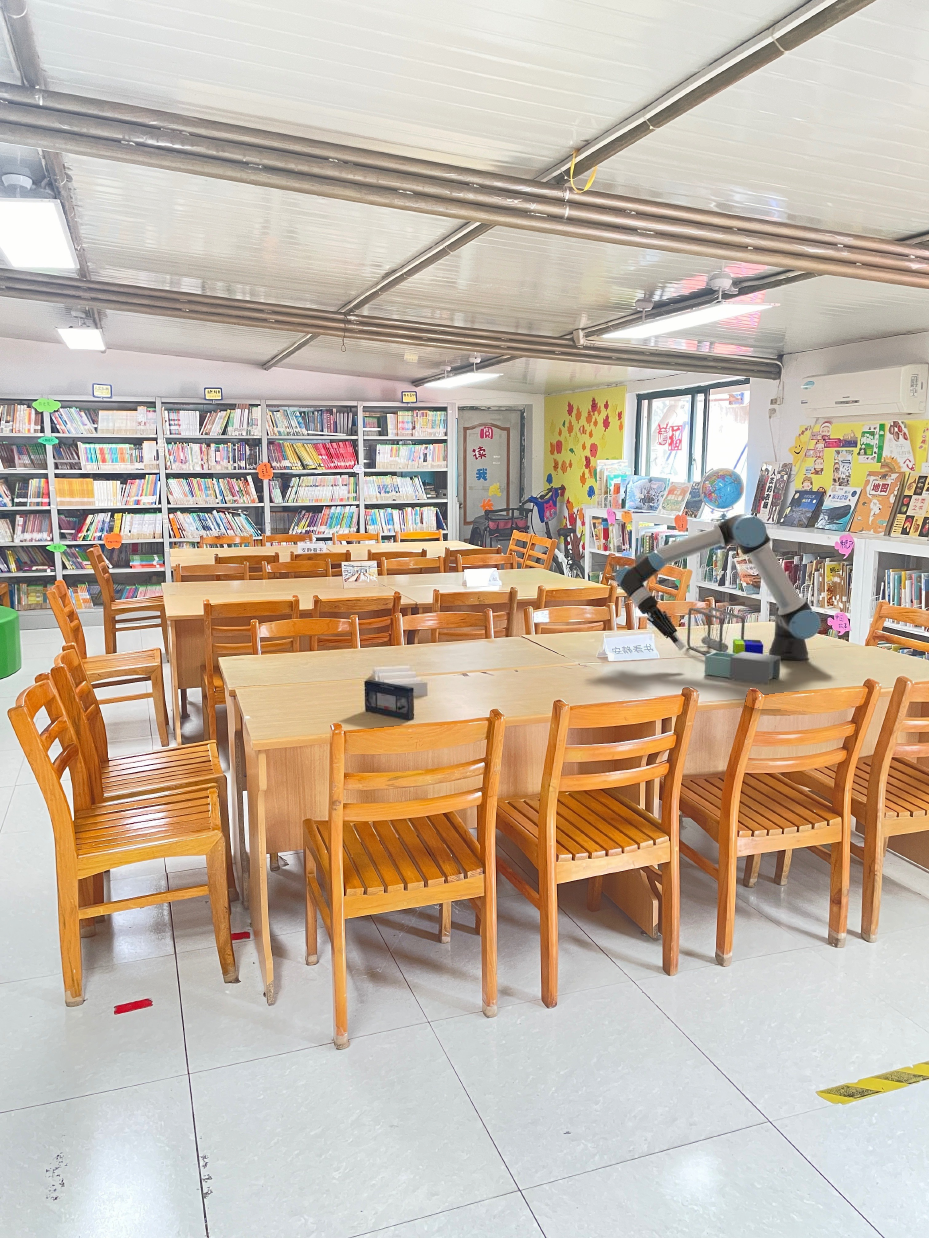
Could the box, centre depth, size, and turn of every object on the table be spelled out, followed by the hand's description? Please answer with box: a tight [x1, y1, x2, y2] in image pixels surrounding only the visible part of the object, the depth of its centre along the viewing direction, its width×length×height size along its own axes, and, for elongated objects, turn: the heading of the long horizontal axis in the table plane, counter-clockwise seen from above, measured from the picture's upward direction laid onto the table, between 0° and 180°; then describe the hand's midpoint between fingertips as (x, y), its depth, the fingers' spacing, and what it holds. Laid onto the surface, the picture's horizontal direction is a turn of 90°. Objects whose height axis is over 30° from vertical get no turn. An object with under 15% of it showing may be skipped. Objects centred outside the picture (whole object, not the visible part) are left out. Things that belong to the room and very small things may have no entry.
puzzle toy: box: [732, 638, 764, 654], centre depth 338 cm, size 10×10×10 cm
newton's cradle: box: [686, 606, 746, 656], centre depth 363 cm, size 30×10×18 cm, turn 11°
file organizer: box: [372, 665, 428, 697], centre depth 310 cm, size 13×35×5 cm, turn 15°
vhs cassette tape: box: [363, 679, 415, 721], centre depth 270 cm, size 18×3×10 cm, turn 52°
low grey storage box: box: [729, 652, 782, 686], centre depth 319 cm, size 14×12×8 cm
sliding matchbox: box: [704, 650, 774, 680], centre depth 323 cm, size 22×10×7 cm, turn 53°
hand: (683, 648), depth 334 cm, fingers closed
